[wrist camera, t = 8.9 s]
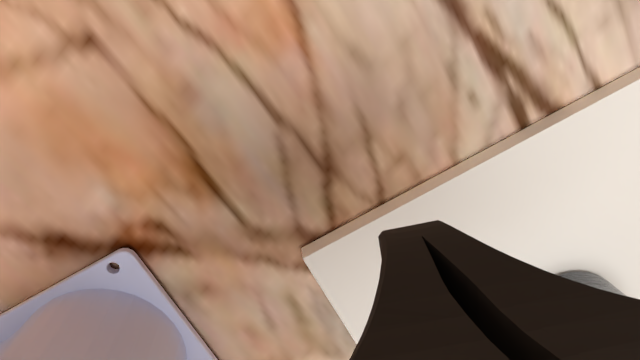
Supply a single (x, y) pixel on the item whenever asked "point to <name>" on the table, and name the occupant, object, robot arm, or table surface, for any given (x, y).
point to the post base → (516, 203)
